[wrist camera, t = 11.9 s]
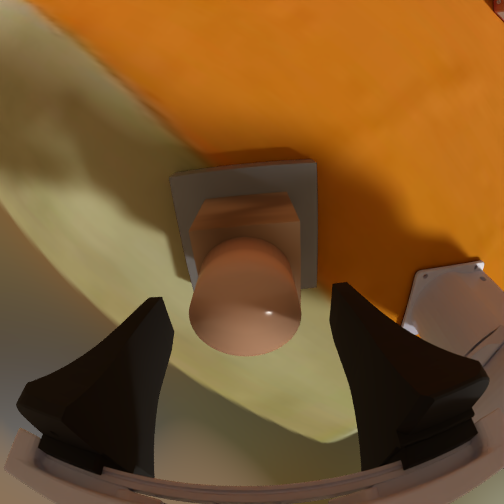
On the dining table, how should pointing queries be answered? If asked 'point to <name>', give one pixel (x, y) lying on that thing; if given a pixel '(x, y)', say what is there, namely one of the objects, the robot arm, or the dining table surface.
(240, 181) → the slate coaster
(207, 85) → the dining table surface
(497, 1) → the cracker box
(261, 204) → the walnut cube
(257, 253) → the pink cylindrical puck
